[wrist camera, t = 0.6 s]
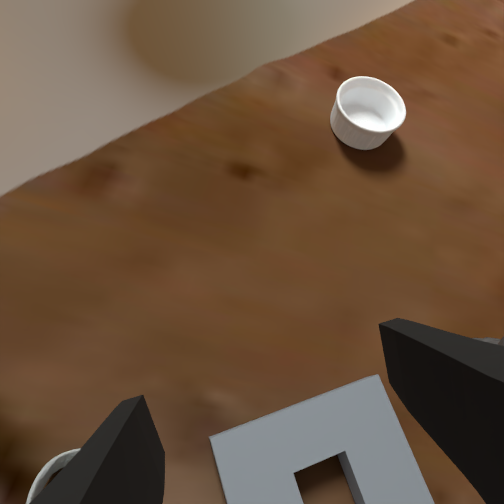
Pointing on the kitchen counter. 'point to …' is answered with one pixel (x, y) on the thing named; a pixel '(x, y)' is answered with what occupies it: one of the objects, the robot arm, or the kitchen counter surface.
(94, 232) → the kitchen counter surface
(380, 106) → the ramekin
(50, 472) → the ceramic mug
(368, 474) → the board
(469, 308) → the kitchen counter surface
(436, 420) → the robot arm
